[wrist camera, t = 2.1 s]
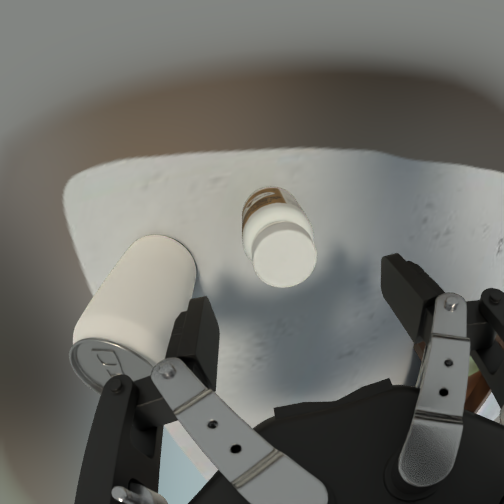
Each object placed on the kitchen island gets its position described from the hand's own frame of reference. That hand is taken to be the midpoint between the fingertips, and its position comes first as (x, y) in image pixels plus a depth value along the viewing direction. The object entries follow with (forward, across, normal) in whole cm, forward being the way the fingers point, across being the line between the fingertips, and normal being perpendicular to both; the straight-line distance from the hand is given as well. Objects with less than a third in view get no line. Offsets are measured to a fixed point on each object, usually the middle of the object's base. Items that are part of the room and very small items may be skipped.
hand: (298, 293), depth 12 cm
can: (+11, +10, +2) cm, 15 cm away
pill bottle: (+11, 0, 0) cm, 11 cm away
